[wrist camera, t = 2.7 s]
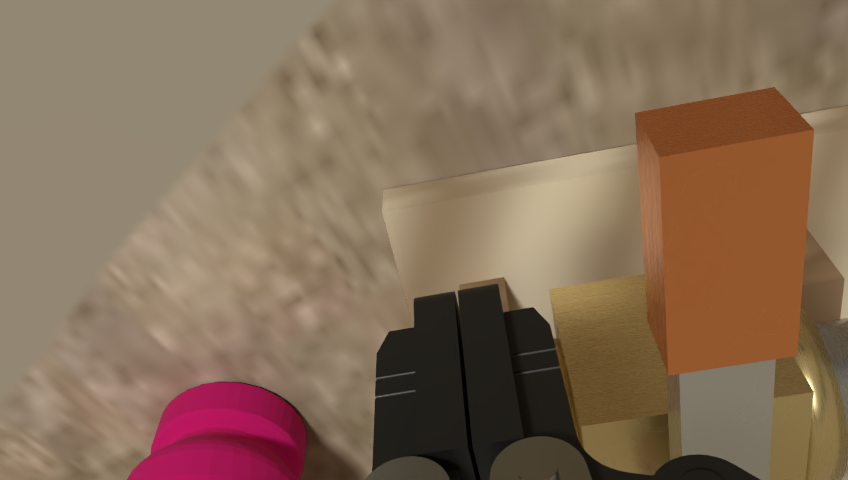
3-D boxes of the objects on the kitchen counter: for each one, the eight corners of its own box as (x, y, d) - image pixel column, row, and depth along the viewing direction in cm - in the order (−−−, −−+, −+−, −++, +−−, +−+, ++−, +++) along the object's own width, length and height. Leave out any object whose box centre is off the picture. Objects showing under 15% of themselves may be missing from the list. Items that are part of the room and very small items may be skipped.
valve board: (855, 104, 27) (927, 170, 23) (827, 368, 33) (880, 453, 30) (383, 189, 28) (379, 264, 24) (445, 425, 35) (449, 513, 31)
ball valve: (832, 242, 26) (950, 393, 20) (818, 387, 29) (914, 550, 23) (458, 304, 27) (471, 463, 21) (488, 436, 30) (505, 602, 25)
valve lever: (779, 85, 15) (820, 128, 14) (757, 539, 23) (782, 598, 21) (629, 114, 15) (653, 158, 14) (657, 553, 23) (674, 612, 21)
